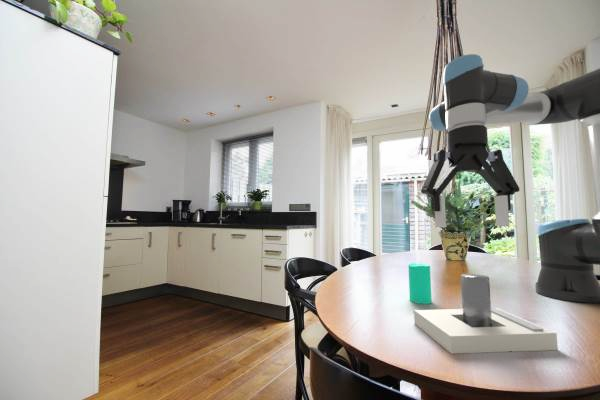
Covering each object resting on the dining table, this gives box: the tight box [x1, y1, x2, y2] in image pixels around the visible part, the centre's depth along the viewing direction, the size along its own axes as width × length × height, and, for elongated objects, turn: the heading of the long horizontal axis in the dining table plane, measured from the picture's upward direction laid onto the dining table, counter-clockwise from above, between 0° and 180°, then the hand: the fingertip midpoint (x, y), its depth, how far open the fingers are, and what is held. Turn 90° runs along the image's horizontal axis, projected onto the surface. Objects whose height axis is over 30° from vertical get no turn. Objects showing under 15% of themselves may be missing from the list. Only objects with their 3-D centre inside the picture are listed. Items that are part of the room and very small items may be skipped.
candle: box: [408, 262, 433, 304], centre depth 80 cm, size 6×6×12 cm
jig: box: [413, 307, 559, 354], centre depth 56 cm, size 20×14×3 cm
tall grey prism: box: [460, 273, 492, 327], centre depth 56 cm, size 5×5×12 cm
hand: (471, 226), depth 57 cm, fingers open, 13 cm apart
